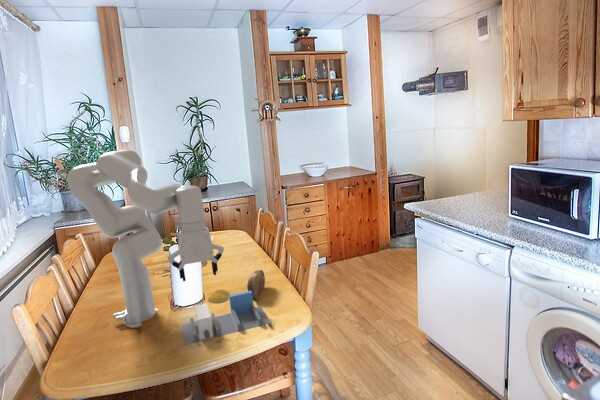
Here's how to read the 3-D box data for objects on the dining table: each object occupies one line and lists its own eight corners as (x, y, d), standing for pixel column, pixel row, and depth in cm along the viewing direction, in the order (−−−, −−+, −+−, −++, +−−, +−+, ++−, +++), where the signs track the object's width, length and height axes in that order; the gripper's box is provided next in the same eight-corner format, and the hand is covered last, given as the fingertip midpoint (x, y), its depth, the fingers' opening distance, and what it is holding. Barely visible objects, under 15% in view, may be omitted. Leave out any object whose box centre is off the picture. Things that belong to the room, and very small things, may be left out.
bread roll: (205, 307, 149) (203, 297, 148) (214, 296, 158) (212, 286, 157) (225, 307, 148) (224, 297, 147) (233, 296, 156) (232, 287, 155)
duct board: (185, 348, 123) (181, 324, 121) (182, 328, 135) (178, 305, 133) (270, 327, 132) (268, 304, 130) (261, 309, 144) (259, 288, 142)
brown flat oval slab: (255, 303, 149) (253, 282, 147) (247, 302, 150) (245, 282, 148) (266, 285, 164) (264, 266, 162) (258, 285, 164) (257, 266, 162)
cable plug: (202, 345, 121) (199, 325, 119) (197, 324, 134) (194, 305, 132) (215, 342, 122) (212, 322, 121) (209, 321, 135) (206, 303, 133)
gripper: (164, 233, 116) (172, 287, 119) (222, 224, 121) (228, 275, 125) (163, 227, 122) (170, 278, 126) (218, 218, 128) (224, 267, 132)
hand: (199, 276), depth 126 cm, fingers open, 9 cm apart
